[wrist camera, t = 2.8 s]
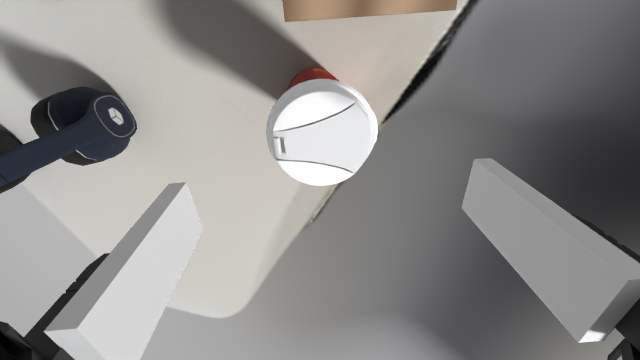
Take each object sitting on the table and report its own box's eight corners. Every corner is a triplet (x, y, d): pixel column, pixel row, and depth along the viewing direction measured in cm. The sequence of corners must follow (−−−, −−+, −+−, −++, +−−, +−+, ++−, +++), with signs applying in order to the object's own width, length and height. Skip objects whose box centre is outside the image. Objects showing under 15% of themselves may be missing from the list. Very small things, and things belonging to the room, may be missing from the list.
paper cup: (284, 129, 31) (273, 195, 19) (275, 59, 27) (254, 87, 15) (349, 124, 32) (378, 187, 20) (349, 54, 28) (386, 78, 16)
